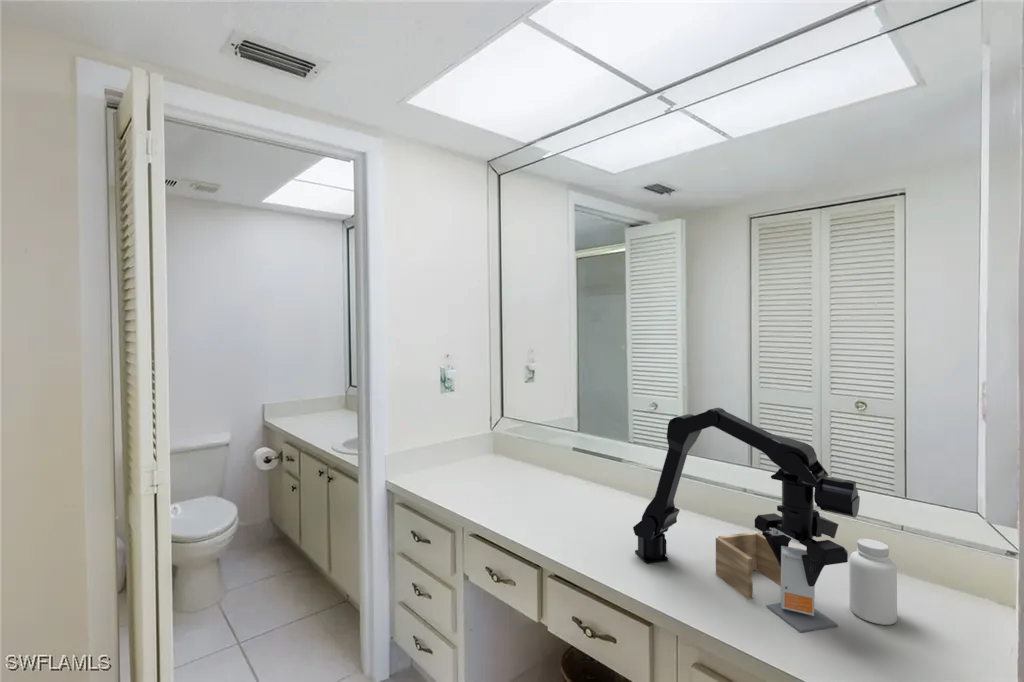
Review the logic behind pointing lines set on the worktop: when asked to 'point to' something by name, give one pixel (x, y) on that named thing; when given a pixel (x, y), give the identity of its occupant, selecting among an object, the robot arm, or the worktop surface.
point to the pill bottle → (873, 583)
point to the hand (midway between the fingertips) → (797, 577)
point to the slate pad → (802, 619)
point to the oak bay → (745, 560)
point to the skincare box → (795, 582)
